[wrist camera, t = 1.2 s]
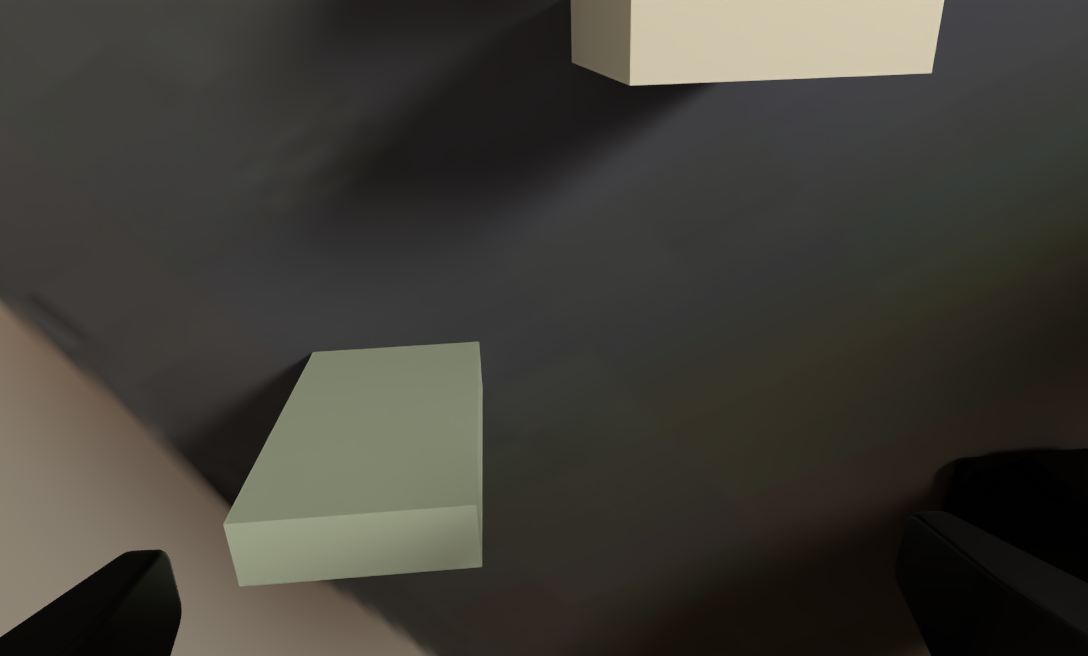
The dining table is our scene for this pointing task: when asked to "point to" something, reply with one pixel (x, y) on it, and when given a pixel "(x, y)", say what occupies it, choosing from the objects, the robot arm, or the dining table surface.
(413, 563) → the tile
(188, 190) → the dining table surface
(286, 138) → the dining table surface
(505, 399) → the dining table surface
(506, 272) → the dining table surface
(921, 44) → the tile
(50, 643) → the robot arm
